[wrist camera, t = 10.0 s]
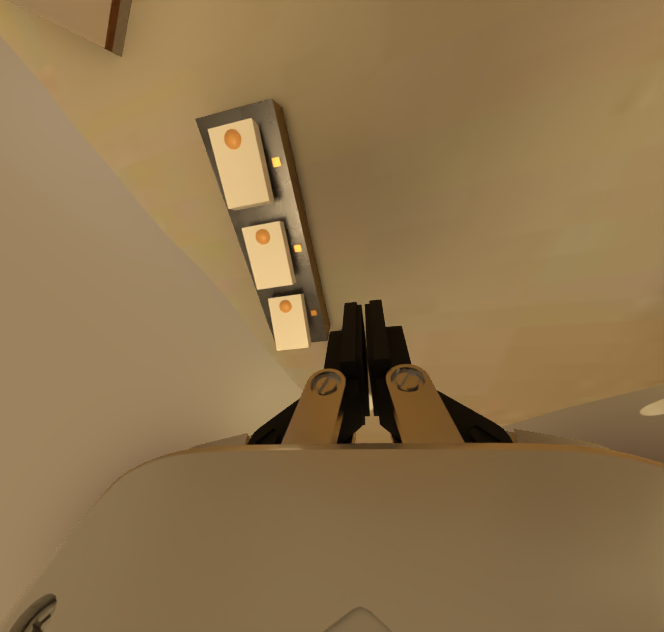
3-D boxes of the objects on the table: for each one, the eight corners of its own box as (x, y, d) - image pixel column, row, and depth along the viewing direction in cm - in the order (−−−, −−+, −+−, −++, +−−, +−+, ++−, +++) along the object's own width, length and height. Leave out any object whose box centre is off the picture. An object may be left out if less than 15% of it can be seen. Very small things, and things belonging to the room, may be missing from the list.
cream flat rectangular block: (247, 228, 29) (240, 228, 28) (283, 221, 29) (278, 220, 27) (262, 287, 31) (256, 290, 30) (296, 282, 31) (292, 284, 29)
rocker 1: (216, 135, 25) (206, 128, 23) (258, 125, 24) (250, 117, 23) (235, 210, 27) (227, 208, 25) (274, 202, 26) (268, 200, 25)
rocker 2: (272, 297, 34) (267, 298, 33) (303, 293, 34) (300, 294, 32) (280, 347, 35) (276, 351, 33) (311, 344, 34) (308, 347, 33)
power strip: (211, 126, 28) (190, 119, 25) (282, 107, 27) (270, 97, 23) (280, 331, 42) (273, 347, 38) (330, 326, 41) (327, 341, 37)
